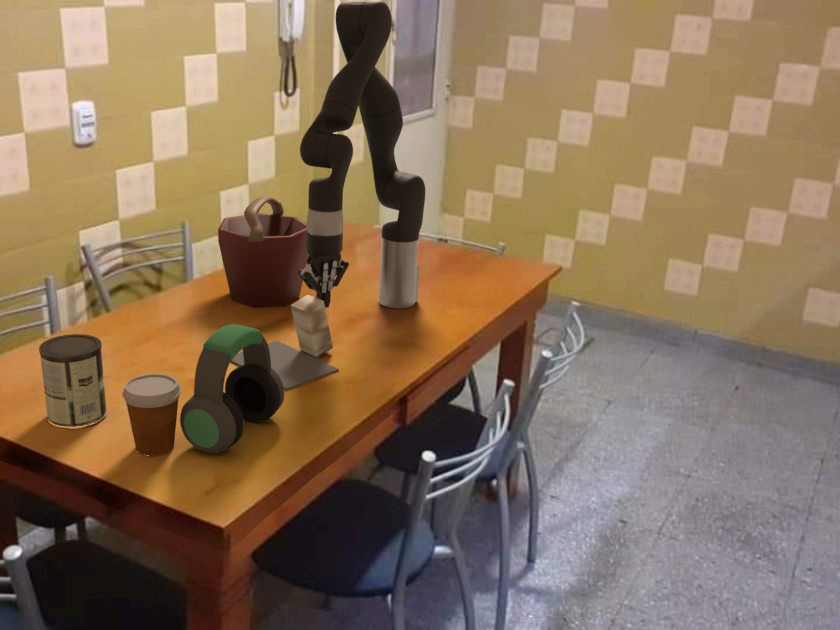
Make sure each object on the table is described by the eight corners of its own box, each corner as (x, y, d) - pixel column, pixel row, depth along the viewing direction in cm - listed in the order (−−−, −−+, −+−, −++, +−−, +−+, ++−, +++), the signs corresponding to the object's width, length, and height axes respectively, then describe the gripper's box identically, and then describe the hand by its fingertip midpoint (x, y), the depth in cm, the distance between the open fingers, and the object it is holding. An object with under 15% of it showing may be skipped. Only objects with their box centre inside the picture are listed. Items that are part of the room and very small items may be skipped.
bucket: (275, 320, 211) (275, 217, 202) (196, 303, 218) (193, 203, 209) (324, 289, 232) (325, 195, 223) (250, 275, 239) (249, 183, 230)
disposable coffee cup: (153, 467, 147) (149, 402, 143) (114, 449, 152) (109, 386, 148) (195, 444, 155) (193, 382, 151) (156, 428, 159) (153, 367, 155)
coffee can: (72, 398, 168) (66, 329, 163) (118, 409, 165) (113, 339, 160) (33, 422, 159) (25, 350, 154) (81, 434, 156) (75, 361, 151)
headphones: (229, 465, 149) (226, 356, 142) (175, 449, 153) (170, 342, 146) (289, 418, 166) (289, 318, 159) (239, 405, 170) (237, 307, 162)
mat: (276, 342, 199) (276, 340, 198) (338, 370, 186) (338, 368, 186) (225, 358, 189) (225, 357, 189) (286, 390, 177) (286, 388, 176)
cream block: (317, 340, 197) (307, 294, 191) (333, 347, 194) (323, 300, 188) (300, 351, 194) (290, 305, 188) (316, 358, 191) (306, 311, 185)
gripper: (335, 220, 193) (333, 295, 199) (288, 230, 183) (288, 309, 189) (360, 228, 188) (357, 305, 194) (313, 238, 179) (311, 319, 185)
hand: (323, 307), depth 192 cm, fingers closed
